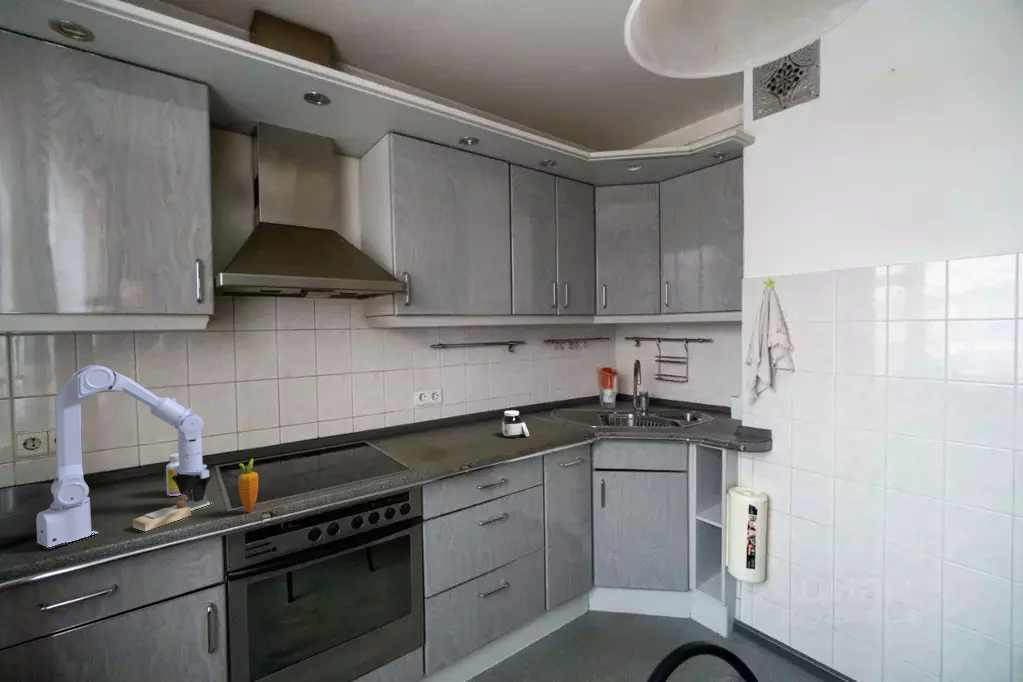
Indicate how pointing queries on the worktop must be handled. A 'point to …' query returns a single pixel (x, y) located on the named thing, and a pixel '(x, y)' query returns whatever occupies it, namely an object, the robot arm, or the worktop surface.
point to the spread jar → (513, 425)
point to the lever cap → (192, 500)
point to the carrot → (248, 486)
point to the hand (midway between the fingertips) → (192, 499)
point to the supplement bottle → (171, 485)
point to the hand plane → (162, 516)
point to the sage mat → (200, 506)
